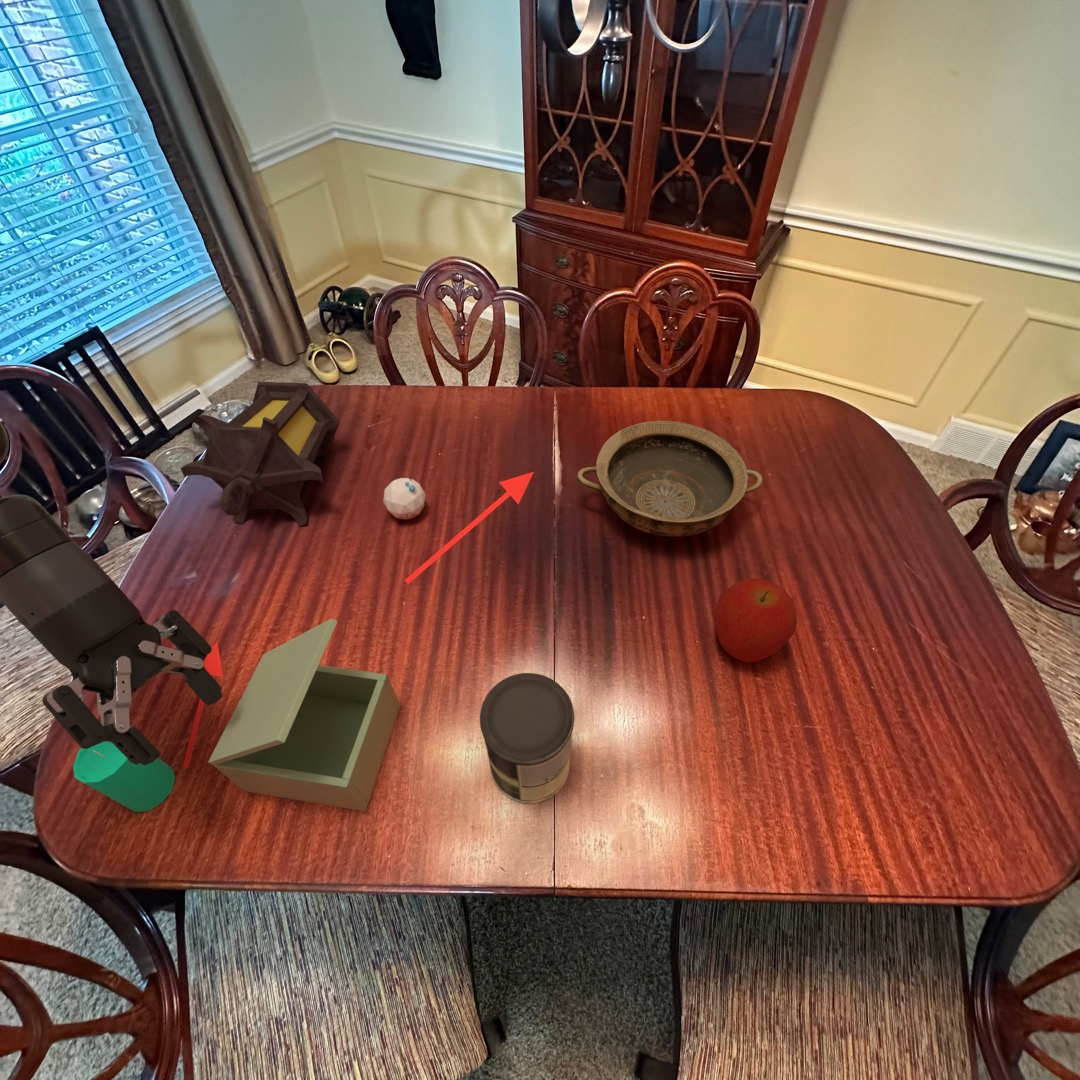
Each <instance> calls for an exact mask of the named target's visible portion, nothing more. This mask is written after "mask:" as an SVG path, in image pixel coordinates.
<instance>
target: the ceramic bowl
mask: <svg viewBox="0 0 1080 1080" xmlns="http://www.w3.org/2000/svg"><path fill="white" fill-rule="evenodd" d="M588 473H596V475H597V479H598V481H599V483H595V482H593V481H590V480H588V479H586V478H585V477H584V475H586V474H588ZM749 477H753V478H754V479H755V480H756V482H755V484H753V485H752V486H749V487H748V485H749V483H748V481H749ZM576 479H577V481H578V482H579V483H580V485H583V486H585V487H587V488H589V489H591V490H594V491H597V492H600V493H601V494H602V495H603V496H604V498H605V500H606V502H607V504H608V506H609V507H610V508H611V510H612V511H613V513H615V514H616V515H617V516H618V517H619V518H620V519H621V520H622V521H624V522H625V523H626V524H628V525H630V526H631V527H633V528H635V529H637V530H640V531H641V532H645V533H647V534H651V535H655V536H661V537H669V538H670V537H672V538H673V537H677V538H679V537H689V536H695V535H699V534H701V533H704V532H706V531H708V530H710V529H712V528H714V527H716V526H717V525H719V524H720V523H721V522H723V521H724V520H725V519H726V517H727V516H728V515H729V514H730V512H731V510H732V509H733V508H734V507H735V506H736V505H737V504H738V503H739V502H740V501H741V500H742V499H743V498H744V496H745V495H746V494H750V493H752V492H755V491H757V490H758V489H759V488H760V487H762V484H763V480H764V479H763V477H762V475H761V473H759V472H758V471H756V470H753V469H747V465H746V463H745V461H744V459H743V458H742V456H741V455H740V454H739V452H738V451H737V450H736V449H735V448H734V447H733V446H732V445H731V444H730V443H729V442H728V441H726V440H725V439H724V438H722V437H720V436H719V435H717V434H716V433H714V432H712V431H710V430H708V429H705V428H703V427H701V426H697V425H693V424H691V423H687V422H681V421H673V420H654V421H653V420H652V421H645V422H640V423H636V424H633V425H629V426H628V427H625V428H623V429H621V430H618V431H617V432H615V433H614V434H613V435H611V436H610V437H609V438H608V439H607V440H606V441H605V442H604V444H603V446H602V447H601V448H600V451H599V453H598V455H597V459H596V461H595V466H588V467H584V468H581V469H579V470H578V472H577V474H576Z"/></svg>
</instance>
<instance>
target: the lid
mask: <svg viewBox="0 0 1080 1080" xmlns="http://www.w3.org/2000/svg"><path fill="white" fill-rule="evenodd" d="M337 624H338V620H336V619H335V618H329V619H328V620H326V621H324V622H322V623H320V624H318V625H316V626H314V627H312V628H310V629H309V630H307V631H304V632H303V633H301V634H299V635H297V636H295V637H294V638H292V639H289V640H288V641H286V642H284V643H282V644H280V645H278V646H276V647H274V648H272V649H271V650H269V651H267V652H265V653H263V654H262V656H261V659H260V660H259V662H258V664H257V666H256V667H255V670H254V672H253V673H252V675H251V677H250V678H249V681H248V683H247V685H246V688H245V689H244V691H243V693H242V695H241V697H240V699H239V701H238V703H237V705H236V706H235V709H234V710H233V713H232V714H231V715H230V719H229V720H228V722H227V724H226V726H225V728H224V730H223V731H222V734H221V736H220V738H219V740H218V742H217V744H216V746H215V747H214V749H213V752H212V754H211V755H210V758H209V760H207V761H208V762H207V764H210V765H212V766H213V765H216V764H219V763H222V762H225V761H229V760H232V759H235V758H238V757H241V756H244V755H248V754H251V753H254V752H257V751H260V750H263V749H266V748H270V747H273V746H276V745H279V744H282V743H284V742H285V740H286V738H287V736H288V733H289V731H290V729H291V727H292V724H293V722H294V720H295V717H296V715H297V713H298V711H299V708H300V706H301V704H302V702H303V699H304V697H305V695H306V692H307V690H308V688H309V686H310V683H311V681H312V679H313V677H314V674H315V672H316V670H317V667H318V665H320V663H321V660H322V659H323V655H324V654H325V651H326V649H327V647H328V644H329V642H330V640H331V638H332V636H333V633H334V632H335V629H336V626H337Z"/></svg>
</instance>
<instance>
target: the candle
mask: <svg viewBox="0 0 1080 1080" xmlns="http://www.w3.org/2000/svg"><path fill="white" fill-rule="evenodd" d="M72 768H73V775H74V778H75V779H76V780H78V781H80V782H81V783H83V784H85V785H86V786H89V787H90V788H92V789H94V790H95V791H97V792H98V793H101V794H102V795H104V796H106V797H108V798H109V799H111V800H113V801H114V802H117V803H118V804H120V805H122V806H123V807H125V808H127V809H129V810H130V811H132V812H134V813H141V812H142V813H143V812H149V811H151V810H152V809H154V808H156V807H158V806H159V805H161V804H162V803H164V801H165V800H166V799H167V797H168V796H169V795H170V794H171V792H172V791H173V788H174V784H175V781H176V776H175V773H174V770H173V768H172V767H171V766H170V765H169V764H167V763H166V762H165V761H164V760H162V759H160V758H159V757H158V758H157V759H156V760H155V761H154V762H151V763H149V764H147V765H142V764H140V763H139V764H137V765H136V764H134V763H131V762H130V761H129V760H128V759H127V757H125V756H124V754H123V753H122V752H121V751H120V750H119V749H118V748H117V747H116V746H115V745H114V744H113V743H111V742H107V741H106V742H102V743H100V744H97V745H95V746H92V747H90V748H88V749H83V748H81V747H80V749H79V750H78V751H77V754H76V757H75V760H74V763H73V766H72Z"/></svg>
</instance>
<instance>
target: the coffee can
mask: <svg viewBox="0 0 1080 1080" xmlns="http://www.w3.org/2000/svg"><path fill="white" fill-rule="evenodd" d="M575 717H576V716H575V709H574V705H573V702H572V699H571V697H570V696H569V694H568V693H567V691H566V690H565V689H564V688H563V687H562V686H561V685H560V684H559V683H558V682H557V681H555V680H554V679H552V678H551V677H549V676H546V675H544V674H541V673H540V674H539V673H534V672H522V673H516V674H512V675H510V676H508V677H505V678H503V679H502V680H501V681H499V682H497V684H495V685H494V686H492V688H491V689H490V690H489V692H488V693H487V695H486V696H485V697H484V700H483V702H482V704H481V707H480V713H479V725H480V726H479V727H480V731H481V734H482V737H483V739H484V743H485V744H484V745H485V749H486V752H487V753H486V754H487V757H488V761H489V768H490V775H491V778H492V780H493V782H494V784H495V786H496V787H497V789H498V790H499V791H500V793H502V794H503V795H504V796H506V797H507V798H508V799H511V800H512V801H515V802H517V803H520V804H538V803H541V802H545V801H547V800H549V799H550V798H552V797H554V796H555V795H557V793H558V792H559V791H560V790H561V789H562V788H563V787H564V785H565V784H566V781H567V779H568V777H569V774H570V770H571V752H572V751H571V750H572V740H573V739H572V737H573V731H574V727H575V719H576V718H575Z"/></svg>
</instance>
